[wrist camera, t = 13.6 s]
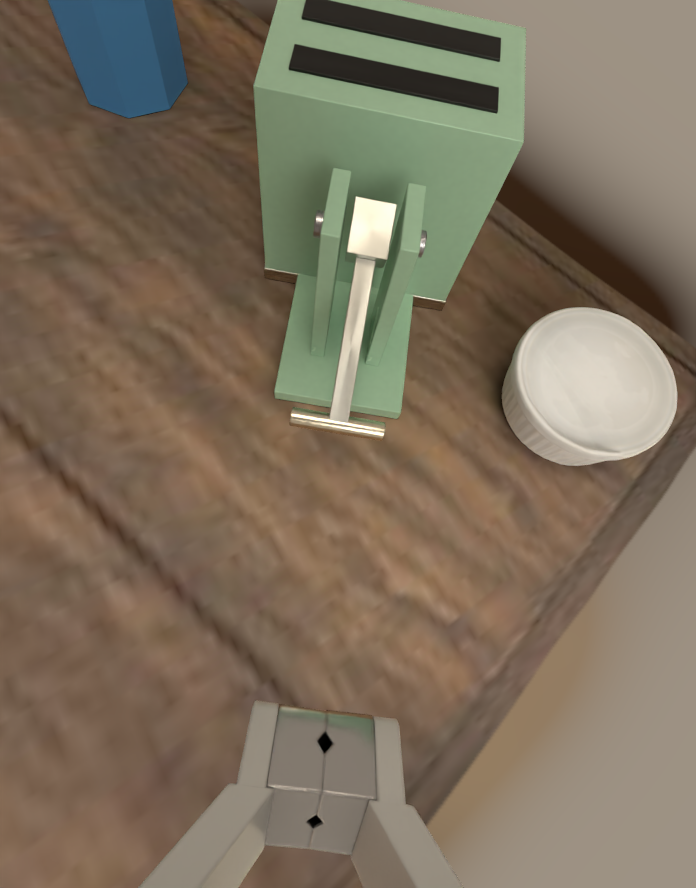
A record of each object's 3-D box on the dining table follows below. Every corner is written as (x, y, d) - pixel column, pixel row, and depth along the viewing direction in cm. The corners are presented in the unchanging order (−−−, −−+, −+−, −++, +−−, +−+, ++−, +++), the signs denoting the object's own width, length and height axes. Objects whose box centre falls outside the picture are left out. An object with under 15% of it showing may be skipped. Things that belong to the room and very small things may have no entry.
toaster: (442, 310, 40) (527, 140, 26) (264, 278, 39) (250, 83, 25) (449, 220, 43) (529, 24, 29) (285, 188, 42) (283, -31, 28)
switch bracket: (397, 419, 36) (454, 316, 24) (274, 398, 36) (266, 281, 23) (411, 293, 40) (467, 146, 27) (299, 272, 39) (304, 113, 27)
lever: (380, 438, 30) (384, 444, 28) (291, 423, 30) (287, 428, 27) (419, 222, 28) (427, 209, 26) (325, 204, 28) (324, 189, 26)
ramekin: (464, 432, 37) (491, 403, 32) (518, 320, 40) (550, 278, 35) (603, 506, 36) (653, 489, 31) (645, 385, 40) (696, 352, 35)
